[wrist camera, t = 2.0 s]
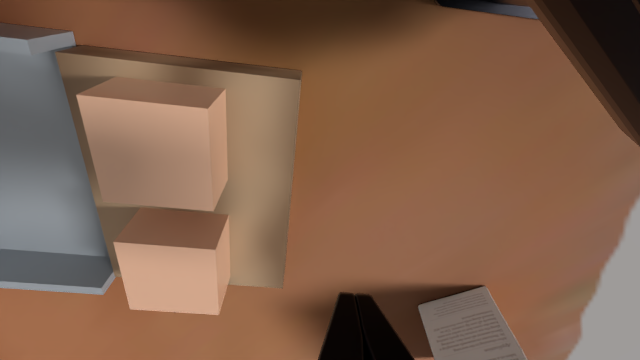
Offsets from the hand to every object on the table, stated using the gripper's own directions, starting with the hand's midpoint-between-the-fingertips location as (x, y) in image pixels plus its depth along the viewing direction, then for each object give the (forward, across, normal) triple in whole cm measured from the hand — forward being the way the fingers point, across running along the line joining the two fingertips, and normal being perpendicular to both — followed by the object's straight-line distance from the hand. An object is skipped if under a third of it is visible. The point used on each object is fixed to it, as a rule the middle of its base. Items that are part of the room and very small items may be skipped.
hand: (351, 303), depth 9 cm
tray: (+12, +18, +4) cm, 22 cm away
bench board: (+12, +8, +4) cm, 15 cm away
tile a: (+10, +8, 0) cm, 13 cm away
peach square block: (+10, +8, +7) cm, 15 cm away
